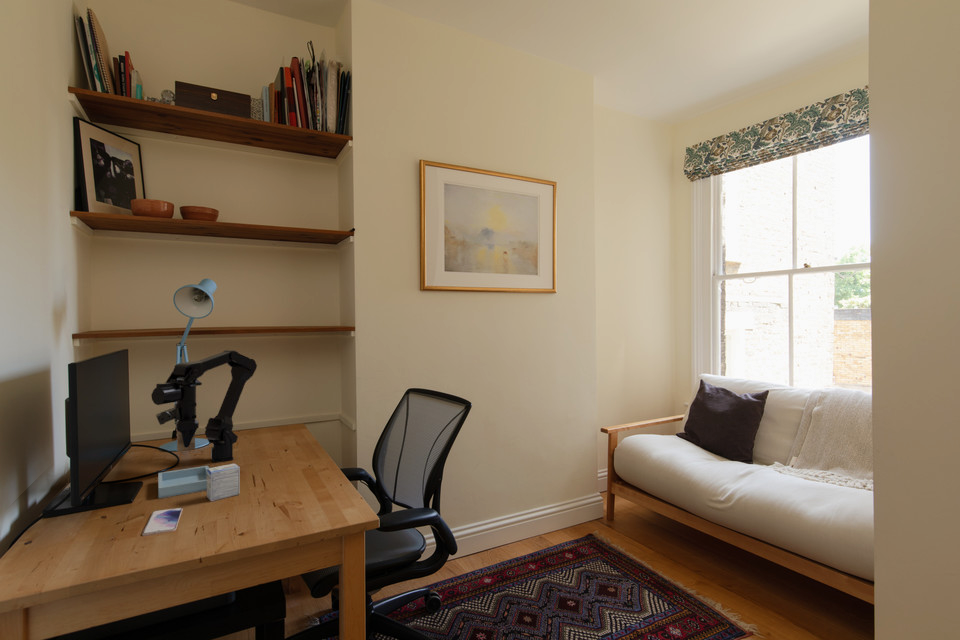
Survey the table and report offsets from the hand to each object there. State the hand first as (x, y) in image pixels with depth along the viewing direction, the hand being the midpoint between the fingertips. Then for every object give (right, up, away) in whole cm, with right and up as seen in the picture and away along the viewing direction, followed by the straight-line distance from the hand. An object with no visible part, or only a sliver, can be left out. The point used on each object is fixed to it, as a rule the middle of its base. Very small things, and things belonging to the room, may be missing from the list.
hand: (186, 445), depth 163 cm
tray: (+8, -9, -13) cm, 18 cm away
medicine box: (+24, -10, -21) cm, 33 cm away
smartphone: (+18, -10, -38) cm, 44 cm away
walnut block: (0, -1, 0) cm, 1 cm away
